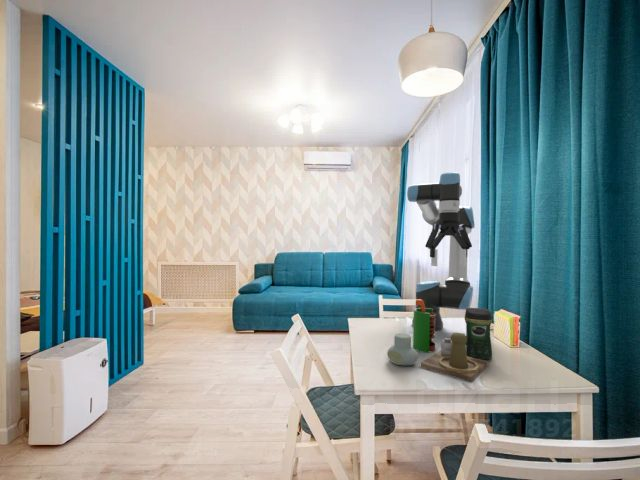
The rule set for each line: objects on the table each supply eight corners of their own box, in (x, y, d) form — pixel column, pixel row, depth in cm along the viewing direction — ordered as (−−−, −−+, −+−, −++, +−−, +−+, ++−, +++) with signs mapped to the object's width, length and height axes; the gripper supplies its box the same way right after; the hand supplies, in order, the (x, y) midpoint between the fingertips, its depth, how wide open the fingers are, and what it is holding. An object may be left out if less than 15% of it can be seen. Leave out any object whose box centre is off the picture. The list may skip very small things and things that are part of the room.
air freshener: (383, 360, 118) (383, 333, 118) (397, 355, 123) (398, 330, 123) (407, 370, 110) (408, 341, 109) (422, 364, 115) (422, 337, 114)
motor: (437, 353, 126) (437, 303, 126) (413, 351, 128) (414, 302, 127) (433, 345, 136) (434, 298, 136) (411, 343, 138) (412, 297, 137)
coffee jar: (491, 354, 125) (491, 307, 125) (493, 362, 118) (493, 311, 117) (463, 351, 129) (464, 305, 128) (464, 357, 121) (464, 309, 121)
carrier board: (441, 353, 126) (441, 334, 126) (488, 365, 114) (488, 344, 114) (420, 366, 113) (420, 345, 113) (471, 381, 101) (471, 358, 101)
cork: (459, 370, 107) (460, 337, 106) (445, 363, 112) (445, 332, 112) (471, 366, 109) (472, 334, 109) (456, 360, 115) (457, 330, 115)
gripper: (428, 210, 119) (427, 267, 119) (482, 212, 127) (481, 265, 127) (416, 212, 126) (416, 265, 127) (468, 213, 134) (467, 264, 134)
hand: (448, 265), depth 127 cm, fingers open, 13 cm apart
